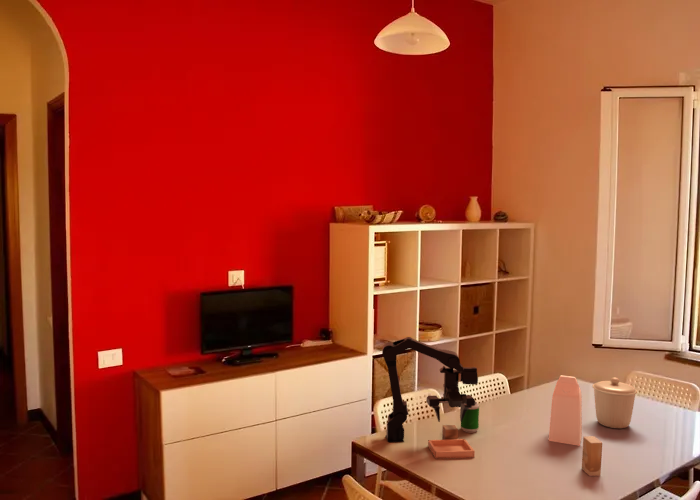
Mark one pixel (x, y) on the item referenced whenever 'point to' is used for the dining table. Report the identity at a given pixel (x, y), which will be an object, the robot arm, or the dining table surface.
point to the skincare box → (592, 456)
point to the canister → (614, 403)
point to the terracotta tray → (451, 448)
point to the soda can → (471, 419)
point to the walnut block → (449, 432)
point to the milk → (566, 412)
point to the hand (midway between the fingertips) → (450, 421)
